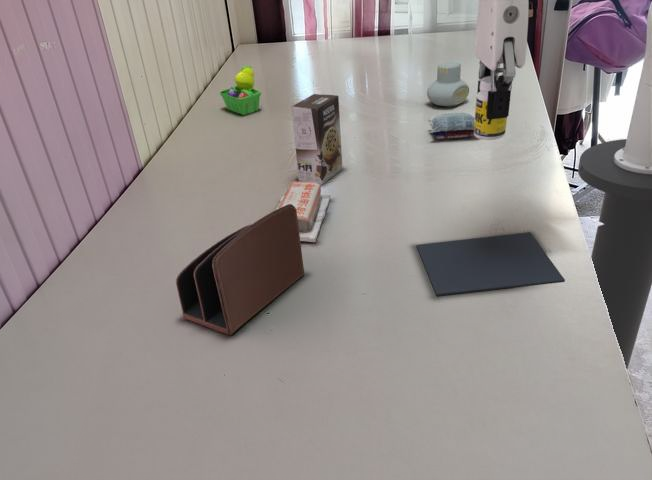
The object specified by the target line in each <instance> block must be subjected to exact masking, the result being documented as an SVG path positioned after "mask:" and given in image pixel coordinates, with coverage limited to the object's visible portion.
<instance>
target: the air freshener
mask: <svg viewBox="0 0 652 480" xmlns="http://www.w3.org/2000/svg"><path fill="white" fill-rule="evenodd" d="M461 69H462V64H461V62H459V61H457V60H446V61H441V62H440V63H438V64H437V72H436V80H434V81H433V82H432V83H431V84H430V85H428V88H427V90H426V96H427V99H428V100H429V101H430V102H431V103H432V104H434V105H436V106H439V107H449V108H450V107H456V106H459V104H461V103H463V102H464V101H465V100H466V99H467V98H468V96H469V93H470V86H469V85H468V83H467V82H466V81H464V80H463V79H461V71H462V70H461Z"/></svg>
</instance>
